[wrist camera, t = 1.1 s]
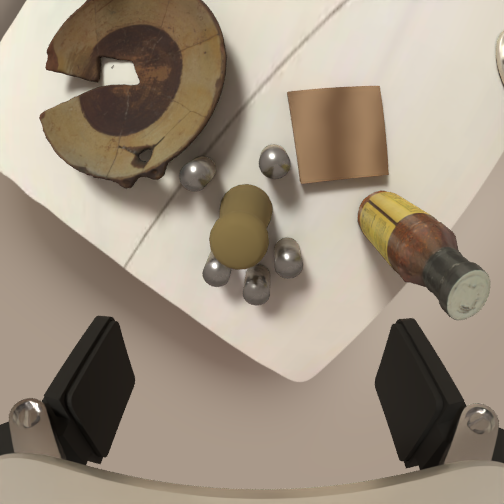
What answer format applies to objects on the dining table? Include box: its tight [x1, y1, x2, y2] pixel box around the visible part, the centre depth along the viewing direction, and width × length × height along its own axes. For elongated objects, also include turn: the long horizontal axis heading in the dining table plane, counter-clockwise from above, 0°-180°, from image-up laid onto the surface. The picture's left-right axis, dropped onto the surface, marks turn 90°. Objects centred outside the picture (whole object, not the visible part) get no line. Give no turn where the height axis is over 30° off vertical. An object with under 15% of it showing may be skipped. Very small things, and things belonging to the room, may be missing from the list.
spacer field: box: [179, 144, 303, 305], centre depth 35 cm, size 11×17×4 cm, turn 9°
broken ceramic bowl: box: [39, 0, 226, 189], centre depth 26 cm, size 22×30×8 cm
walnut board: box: [287, 86, 389, 184], centre depth 32 cm, size 10×10×2 cm
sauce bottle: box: [358, 191, 490, 320], centre depth 27 cm, size 6×6×20 cm
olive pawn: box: [209, 184, 272, 270], centre depth 32 cm, size 6×6×11 cm
